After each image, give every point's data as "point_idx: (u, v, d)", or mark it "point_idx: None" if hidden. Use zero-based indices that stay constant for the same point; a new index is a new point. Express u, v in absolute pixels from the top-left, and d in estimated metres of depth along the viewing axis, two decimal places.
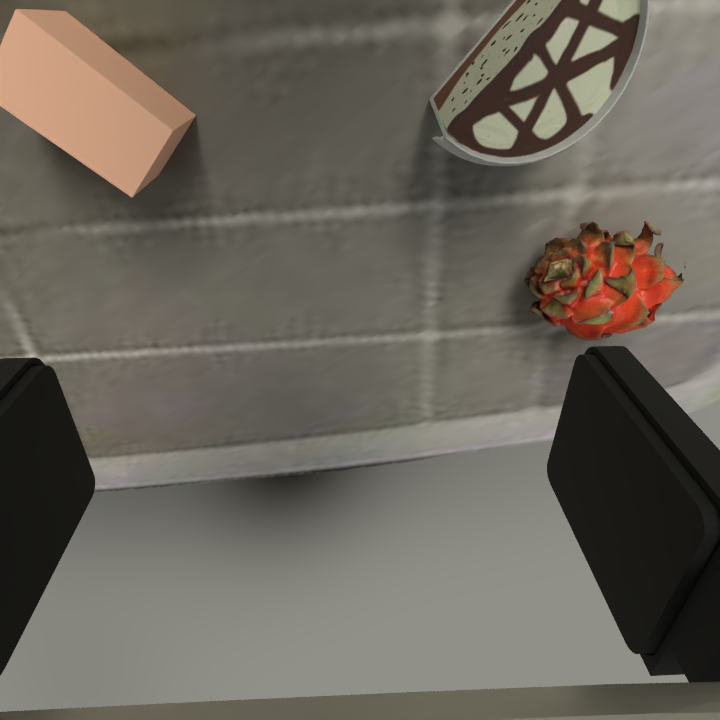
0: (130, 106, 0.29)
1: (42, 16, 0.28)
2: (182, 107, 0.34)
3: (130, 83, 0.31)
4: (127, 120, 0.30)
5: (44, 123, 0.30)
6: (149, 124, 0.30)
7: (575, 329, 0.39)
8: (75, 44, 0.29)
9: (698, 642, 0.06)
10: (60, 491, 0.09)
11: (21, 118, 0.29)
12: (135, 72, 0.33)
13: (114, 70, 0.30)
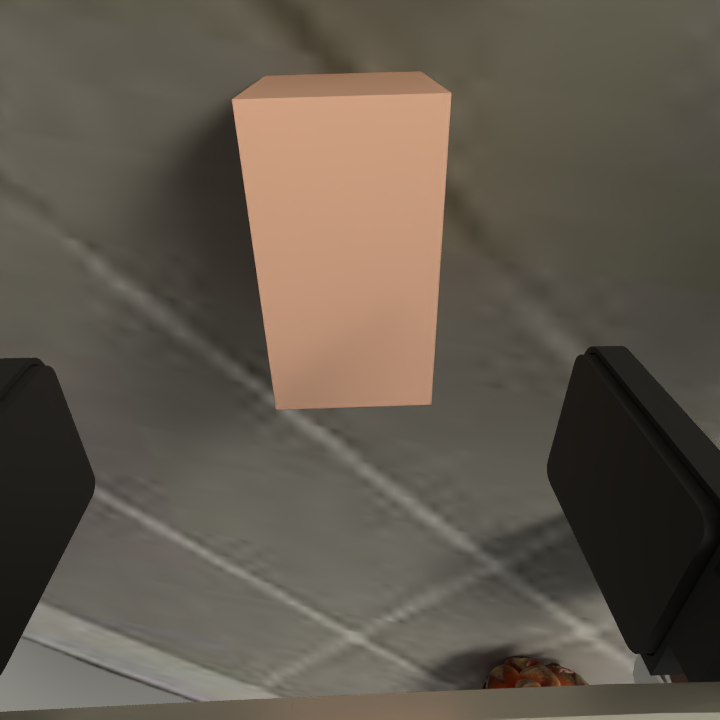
0: (421, 340, 0.15)
1: None
2: None
3: None
4: (394, 346, 0.16)
5: (277, 237, 0.14)
6: (415, 375, 0.16)
7: None
8: None
9: (698, 642, 0.06)
10: (60, 491, 0.09)
11: (250, 196, 0.13)
12: None
13: None
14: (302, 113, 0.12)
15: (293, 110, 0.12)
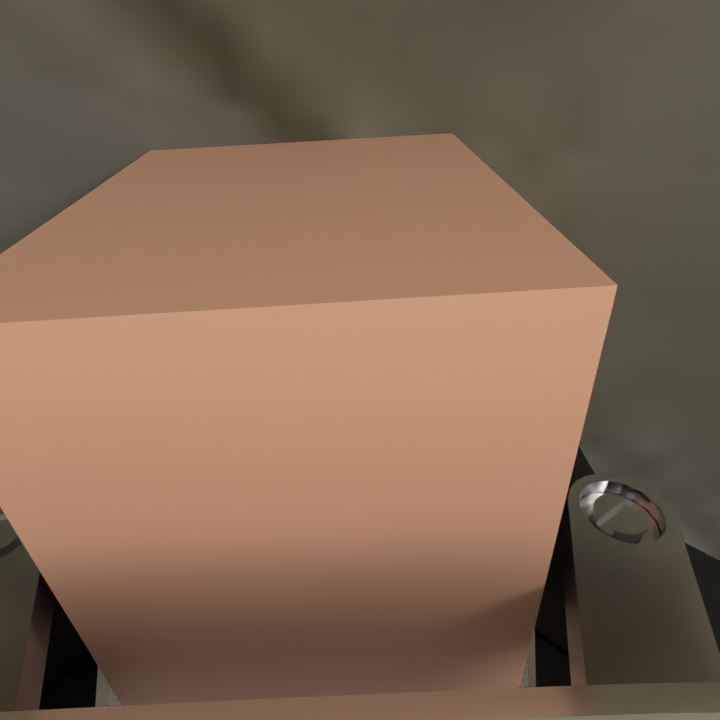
0: None
1: None
2: None
3: None
4: None
5: (129, 603, 0.05)
6: None
7: None
8: None
9: None
10: None
11: (32, 536, 0.05)
12: None
13: None
14: (133, 355, 0.04)
15: (105, 350, 0.04)
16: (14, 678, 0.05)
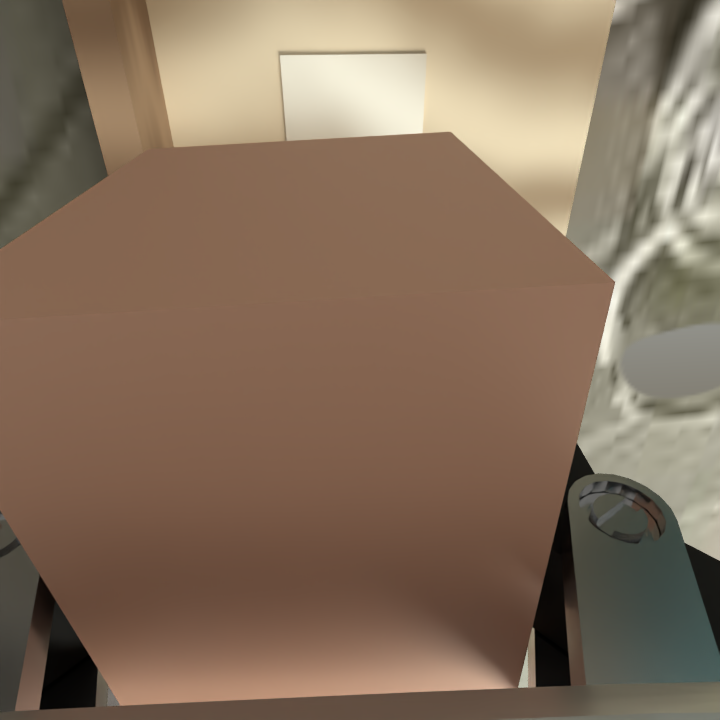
0: None
1: None
2: None
3: None
4: None
5: (126, 602, 0.05)
6: None
7: None
8: None
9: None
10: None
11: (29, 534, 0.05)
12: None
13: None
14: (130, 353, 0.04)
15: (101, 347, 0.04)
16: (14, 678, 0.05)
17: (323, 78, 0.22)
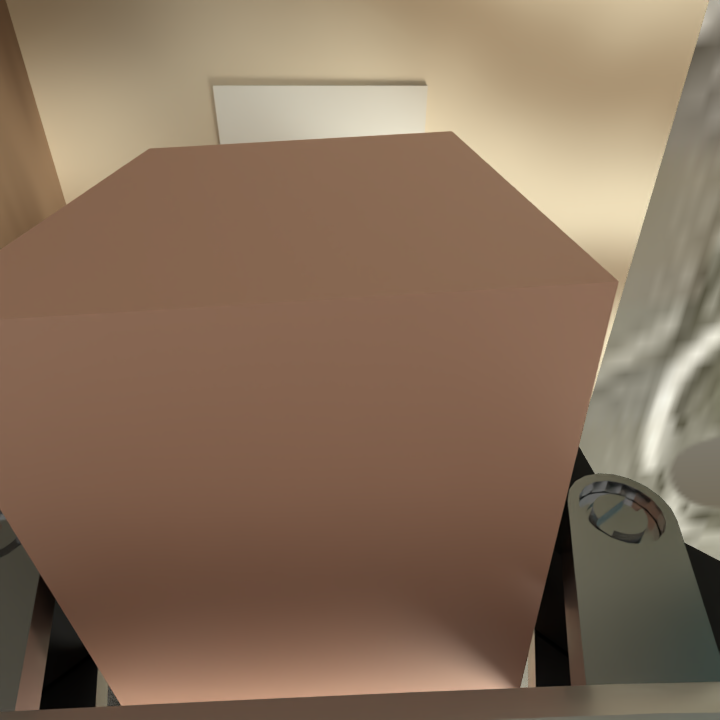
0: None
1: None
2: None
3: None
4: None
5: (127, 602, 0.05)
6: None
7: None
8: None
9: None
10: None
11: (30, 535, 0.05)
12: None
13: None
14: (132, 353, 0.04)
15: (103, 346, 0.04)
16: (15, 678, 0.05)
17: (277, 119, 0.15)
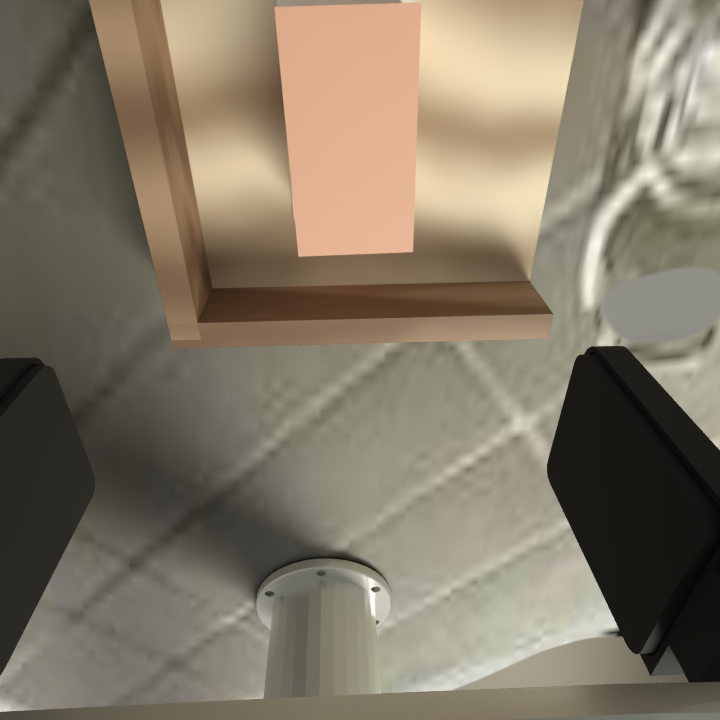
0: (405, 196, 0.21)
1: None
2: None
3: None
4: (385, 202, 0.21)
5: (302, 112, 0.19)
6: (401, 226, 0.22)
7: None
8: None
9: (698, 642, 0.06)
10: (60, 491, 0.09)
11: (284, 79, 0.19)
12: None
13: None
14: (320, 17, 0.18)
15: (315, 15, 0.18)
16: None
17: None
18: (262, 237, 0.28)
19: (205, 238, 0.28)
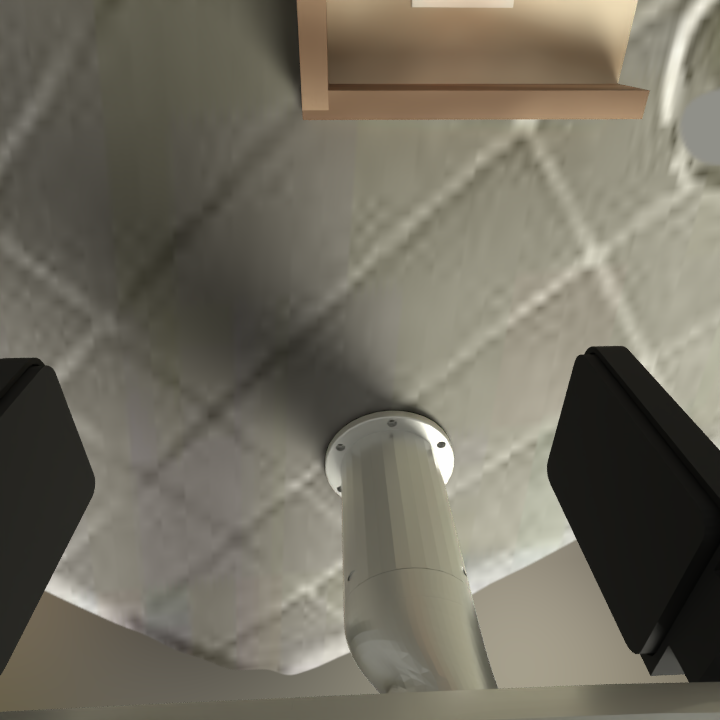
0: None
1: None
2: None
3: None
4: None
5: None
6: None
7: None
8: None
9: (698, 642, 0.06)
10: (60, 491, 0.09)
11: None
12: None
13: None
14: None
15: None
16: None
17: None
18: (380, 27, 0.31)
19: (329, 26, 0.31)
